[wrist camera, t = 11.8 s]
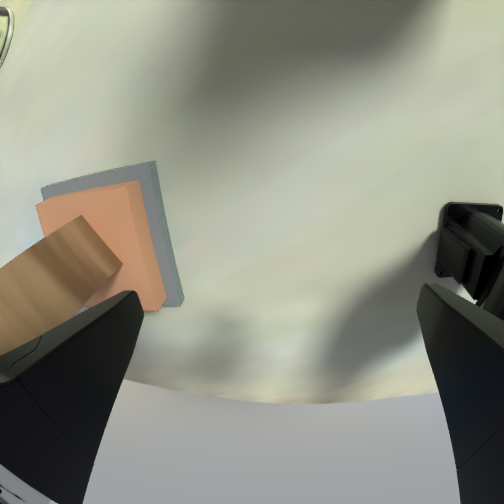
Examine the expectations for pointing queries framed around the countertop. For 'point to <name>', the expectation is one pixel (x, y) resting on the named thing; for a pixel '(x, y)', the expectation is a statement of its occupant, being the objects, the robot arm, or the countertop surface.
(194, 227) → the countertop surface
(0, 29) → the coffee can
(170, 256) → the bottom slab
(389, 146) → the countertop surface
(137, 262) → the top slab
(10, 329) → the walnut block
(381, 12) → the countertop surface
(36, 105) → the countertop surface
